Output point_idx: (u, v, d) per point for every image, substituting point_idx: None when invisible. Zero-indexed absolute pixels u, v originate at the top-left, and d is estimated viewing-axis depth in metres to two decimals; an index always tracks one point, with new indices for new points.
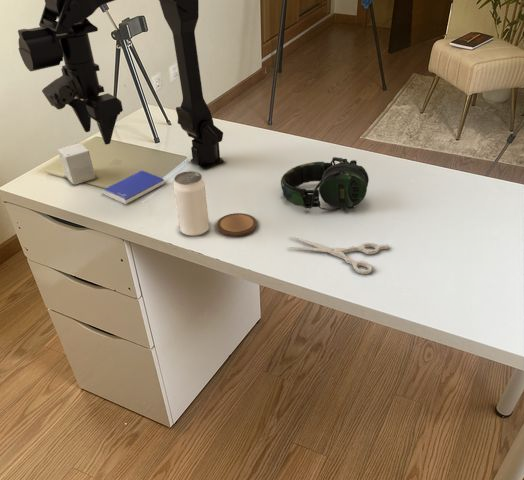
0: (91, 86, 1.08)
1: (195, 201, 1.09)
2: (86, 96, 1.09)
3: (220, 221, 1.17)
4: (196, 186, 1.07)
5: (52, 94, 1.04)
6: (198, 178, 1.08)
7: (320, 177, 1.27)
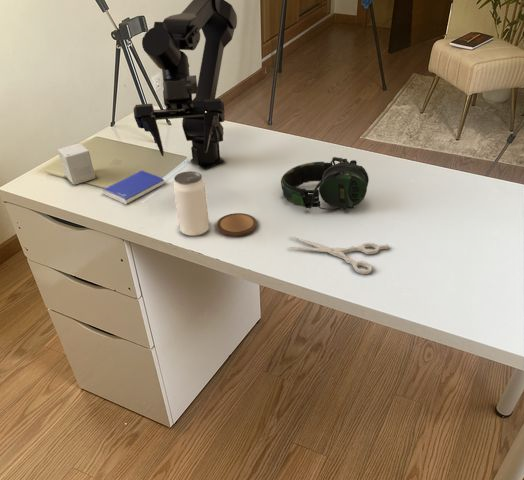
0: None
1: (195, 201, 1.09)
2: (191, 105, 1.12)
3: (220, 221, 1.17)
4: (197, 186, 1.07)
5: None
6: (198, 178, 1.08)
7: (320, 177, 1.27)
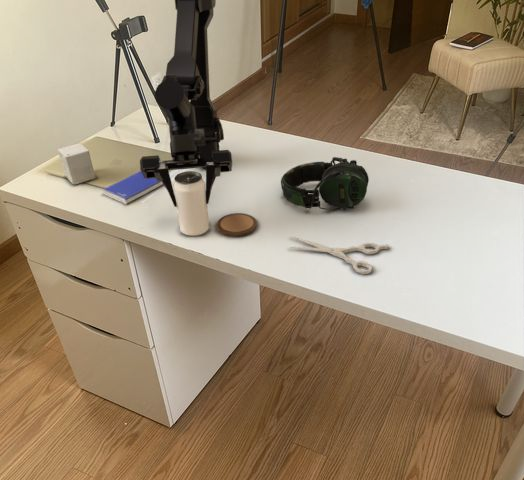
0: None
1: (195, 201, 1.09)
2: (198, 156, 1.10)
3: (220, 221, 1.17)
4: (197, 186, 1.07)
5: (193, 134, 1.03)
6: (198, 178, 1.08)
7: (320, 177, 1.27)
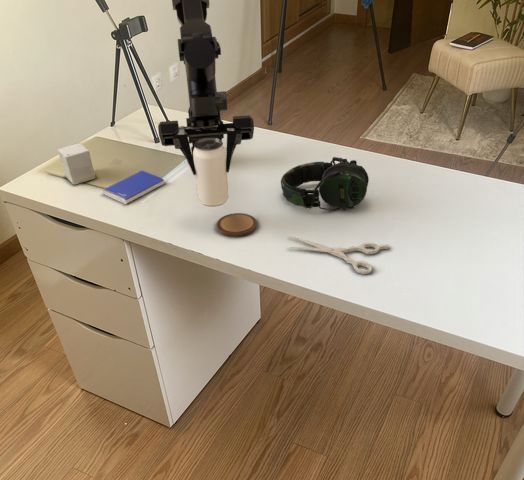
0: None
1: (215, 169, 1.04)
2: (218, 121, 1.05)
3: (220, 221, 1.17)
4: (217, 153, 1.03)
5: (214, 96, 0.99)
6: (219, 145, 1.04)
7: (320, 177, 1.27)
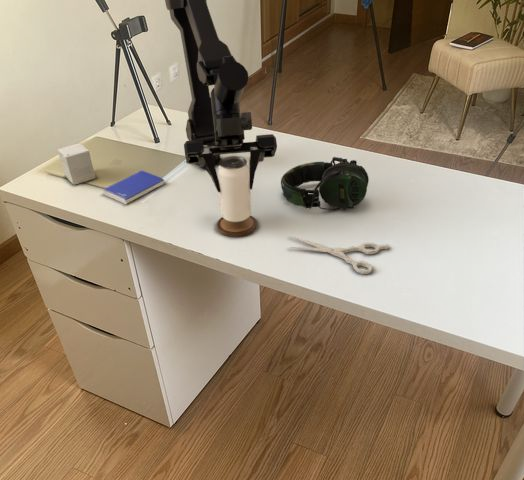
0: None
1: (239, 187, 1.07)
2: (242, 140, 1.08)
3: (220, 221, 1.17)
4: (242, 171, 1.06)
5: (240, 117, 1.02)
6: (243, 163, 1.07)
7: (320, 177, 1.27)
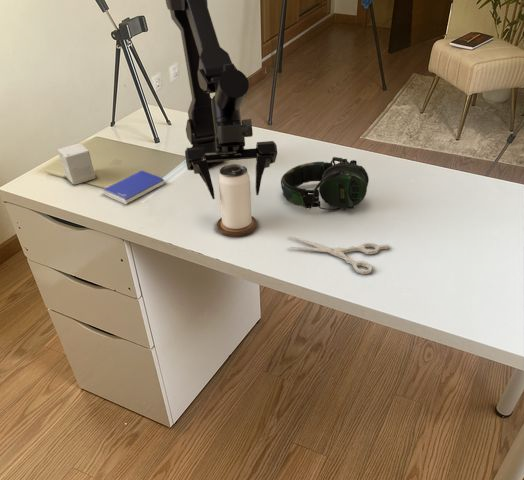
0: None
1: (240, 194, 1.08)
2: (242, 147, 1.09)
3: (220, 221, 1.17)
4: (242, 179, 1.07)
5: None
6: (243, 171, 1.08)
7: (320, 177, 1.27)
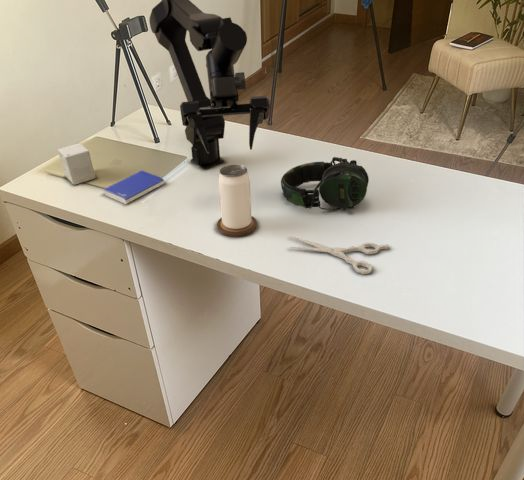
0: None
1: (240, 194, 1.08)
2: (236, 102, 1.12)
3: (220, 221, 1.17)
4: (242, 179, 1.07)
5: (234, 77, 1.05)
6: (243, 171, 1.08)
7: (320, 177, 1.27)
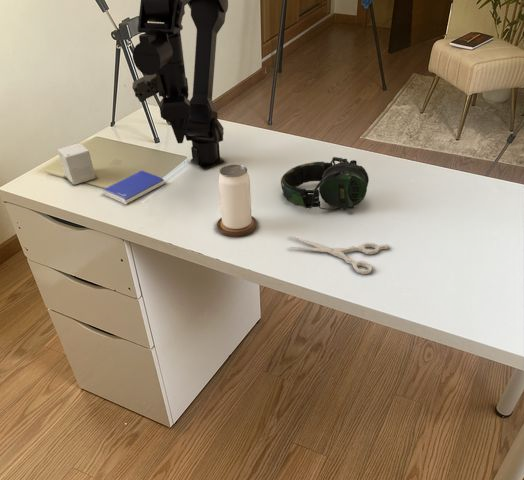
0: (173, 86, 1.11)
1: (240, 194, 1.08)
2: (167, 95, 1.13)
3: (220, 221, 1.17)
4: (242, 179, 1.07)
5: (134, 87, 1.11)
6: (243, 171, 1.08)
7: (320, 177, 1.27)
